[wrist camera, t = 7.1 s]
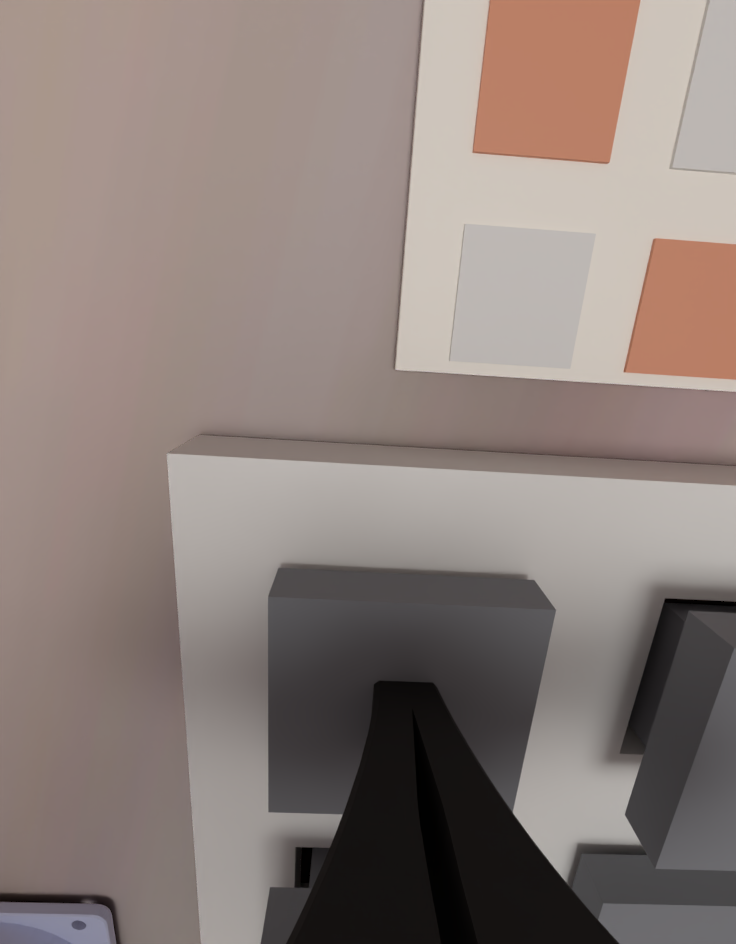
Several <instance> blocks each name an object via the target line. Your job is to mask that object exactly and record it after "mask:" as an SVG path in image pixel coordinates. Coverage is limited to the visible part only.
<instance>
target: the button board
mask: <svg viewBox="0 0 736 944" xmlns="http://www.w3.org/2000/svg"><path fill="white" fill-rule="evenodd" d="M167 464H168V478H169V492H170V507H171V521H172V535H173V550H174V564H175V578H176V593H177V607H178V621H179V636H180V650H181V664H182V679H183V693H184V707H185V722H186V736H187V750H188V765H189V779H190V793H191V808H192V822H193V836H194V851H195V865H196V879H197V894H198V908H199V922H200V937H201V944H261V938H262V932H263V926H264V920H265V914H266V908H267V902H268V896H269V890H270V887H287V888H309V883H301V856H302V847H315V848H330V846H331V843H332V841H333V839H334V836H335V834H336V831H337V828H338V826H339V823H340V821H341V818H342V815H343V814H310V813H275V812H268V595H269V592H270V590H271V587H272V584H273V581H274V579H275V576H276V573H277V570H278V568H295V569H316V570H337V571H358V572H378V573H399V574H420V575H441V576H462V577H483V578H503V579H524V580H535V582H536V583H537V584H538V586H539V587H540V589H541V590H542V591H543V593H544V594H545V595H546V597H547V598H548V599H549V601H550V602H551V604H552V605H553V606H554V608H555V609H556V613H555V618H554V622H553V627H552V632H551V636H550V641H549V646H548V650H547V655H546V660H545V664H544V669H543V674H542V678H541V683H540V688H539V692H538V697H537V702H536V706H535V711H534V716H533V720H532V725H531V730H530V734H529V739H528V743H527V748H526V753H525V757H524V762H523V767H522V771H521V776H520V781H519V785H518V790H517V795H516V799H515V804H514V809H513V814H514V815H515V817H516V818H517V819H518V821H519V822H520V823H521V825H522V826H523V828H524V829H525V830H526V832H527V833H528V834H529V836H530V837H531V838H532V840H533V841H534V842H535V844H536V845H537V846H538V848H539V849H540V850H541V851H542V853H543V854H544V855H545V857H546V858H547V859H548V860H549V862H550V863H551V864H552V865H553V867H554V868H555V869H556V871H557V872H558V873H559V874H560V876H561V877H562V878H563V879H564V880H565V882H566V883H567V884H568V885H569V886H570V888H571V889H572V886H573V882H574V879H575V875H576V872H577V868H578V865H579V861H580V858H581V854H617V855H647V854H646V852H645V850H644V848H643V846H642V845H641V843H640V841H639V839H638V837H637V836H636V834H635V832H634V830H633V829H632V827H631V825H630V823H629V821H628V820H627V818H626V816H625V812H626V809H627V805H628V802H629V799H630V796H631V793H632V789H633V786H634V783H635V780H636V777H637V774H638V770H639V767H640V764H641V761H642V758H643V754H644V751H645V748H646V747H645V746H644V744H643V743H642V741H641V740H640V739H639V737H638V736H637V734H636V733H635V731H634V730H633V729H632V727H631V726H630V724H629V723H628V722H629V719H630V716H631V712H632V709H633V705H634V702H635V699H636V695H637V692H638V688H639V685H640V682H641V678H642V675H643V671H644V668H645V665H646V661H647V658H648V654H649V651H650V648H651V644H652V641H653V637H654V634H655V631H656V627H657V624H658V620H659V617H660V614H661V610H662V607H663V603H664V600H665V598H671V599H692V600H713V601H734V602H736V466H726V465H709V464H692V463H675V462H658V461H641V460H623V459H606V458H589V457H572V456H555V455H538V454H520V453H503V452H486V451H469V450H452V449H434V448H417V447H400V446H383V445H366V444H349V443H331V442H314V441H297V440H280V439H263V438H246V437H228V436H211V435H198V436H196V437H194V438H193V439H191V440H189V441H187V442H186V443H184V444H182V445H181V446H179V447H177V448H175V449H174V450H172V451H170V452H168V453H167Z"/></svg>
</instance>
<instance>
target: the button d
mask: <svg viewBox="0 0 736 944" xmlns="http://www.w3.org/2000/svg"><path fill="white" fill-rule="evenodd" d="M628 723H629V724H630V726H631V727H632V729H633V730H634V731H635V733H636V734H637V736H638V737H639V739H640V740H641V741H642V743H643V744H644V746H645V747H646V748H645V751H644V754H643V758H642V761H641V764H640V767H639V770H638V774H637V777H636V780H635V783H634V786H633V789H632V793H631V796H630V799H629V802H628V805H627V809H626V812H625V816H626V818H627V820H628V821H629V823H630V825H631V827H632V829H633V830H634V832H635V834H636V836H637V837H638V839H639V841H640V843H641V845H642V846H643V848H644V850H645V852H646V854H647V855H648V857H649V859H650V861H651V863H652V864H653V866H654V868H655V869H680V870H720V871H736V606H720V605H699V604H677V603H663V607H662V610H661V614H660V617H659V620H658V624H657V627H656V631H655V634H654V637H653V641H652V644H651V648H650V651H649V654H648V658H647V661H646V665H645V668H644V671H643V675H642V678H641V682H640V685H639V688H638V692H637V695H636V699H635V702H634V705H633V709H632V712H631V716H630V719H629V722H628Z"/></svg>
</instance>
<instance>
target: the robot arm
mask: <svg viewBox="0 0 736 944" xmlns="http://www.w3.org/2000/svg"><path fill="white" fill-rule="evenodd" d="M0 944H116V938H115V932H114V925H113V919H112V913H111V911H110V909H109V908H108V907H107V906H105V905H102V904H82V903H35V902H0ZM286 944H619V943H618V942H617V940H616V939H615V938H614V937H613V936H612V935H611V934H610V933H609V932H608V930H607V929H606V928H605V927H604V926H603V925H602V924H601V923H600V922H599V920H598V919H597V918H596V917H595V916H594V915H593V914H592V913H591V912H590V910H589V909H588V908H587V907H586V906H585V904H584V903H583V902H582V901H581V900H580V898H579V897H578V896H577V895H576V894H575V892H574V891H573V890H572V889H571V888H570V886H569V885H568V884H567V883H566V882H565V880H564V879H563V878H562V877H561V876H560V874H559V873H558V872H557V871H556V869H555V868H554V867H553V865H552V864H551V863H550V862H549V860H548V859H547V858H546V857H545V855H544V854H543V853H542V851H541V850H540V849H539V848H538V846H537V845H536V844H535V842H534V841H533V840H532V838H531V837H530V836H529V834H528V833H527V832H526V830H525V829H524V828H523V826H522V825H521V823H520V822H519V821H518V819H517V818H516V817H515V815H514V814H513V812H512V811H511V809H510V808H509V806H508V805H507V804H506V802H505V801H504V799H503V798H502V796H501V795H500V794H499V792H498V791H497V789H496V788H495V786H494V785H493V783H492V781H491V780H490V778H489V777H488V775H487V774H486V772H485V771H484V769H483V767H482V766H481V764H480V763H479V761H478V759H477V758H476V756H475V755H474V753H473V751H472V750H471V748H470V747H469V745H468V743H467V742H466V740H465V738H464V737H463V735H462V733H461V731H460V730H459V728H458V726H457V724H456V723H455V721H454V719H453V717H452V715H451V713H450V712H449V710H448V708H447V706H446V704H445V702H444V700H443V698H442V696H441V694H440V692H439V690H438V688H437V687H436V685H435V684H434V683H432V682H404V681H380V680H379V681H378V682H376V683H375V684H374V688H373V701H372V713H371V721H370V726H369V731H368V735H367V739H366V743H365V746H364V750H363V754H362V758H361V761H360V765H359V768H358V771H357V774H356V777H355V780H354V783H353V786H352V789H351V792H350V795H349V798H348V801H347V804H346V807H345V810H344V813H343V815H342V818H341V821H340V823H339V826H338V828H337V831H336V834H335V836H334V839H333V841H332V843H331V846H330V848H329V851H328V853H327V856H326V858H325V860H324V863H323V865H322V867H321V870H320V872H319V874H318V876H317V879H316V881H315V883H314V885H313V888H312V890H311V892H310V894H309V896H308V899H307V901H306V903H305V905H304V908H303V910H302V912H301V914H300V916H299V918H298V920H297V922H296V924H295V926H294V929H293V931H292V933H291V935H290V937H289V939H288V941H287V943H286Z"/></svg>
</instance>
